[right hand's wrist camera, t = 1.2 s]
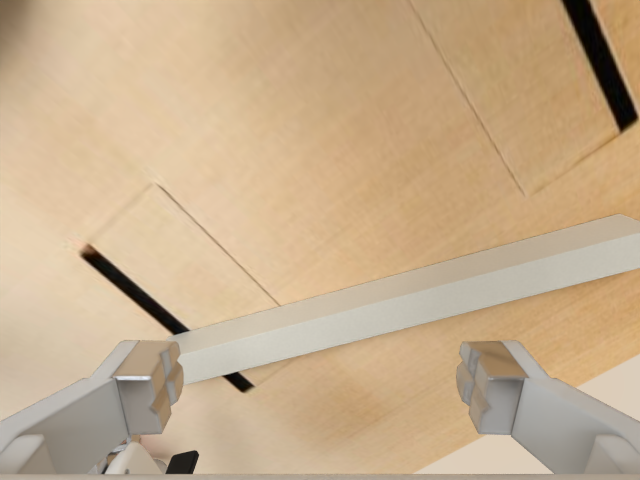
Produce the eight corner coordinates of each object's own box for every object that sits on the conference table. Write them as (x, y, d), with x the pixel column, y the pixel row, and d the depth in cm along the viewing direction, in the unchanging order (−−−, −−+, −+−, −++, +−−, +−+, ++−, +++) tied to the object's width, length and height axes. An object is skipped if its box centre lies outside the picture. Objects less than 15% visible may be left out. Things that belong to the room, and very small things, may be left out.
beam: (619, 213, 48) (658, 227, 43) (620, 245, 50) (657, 263, 44) (167, 336, 55) (150, 363, 50) (181, 361, 57) (166, 390, 51)
